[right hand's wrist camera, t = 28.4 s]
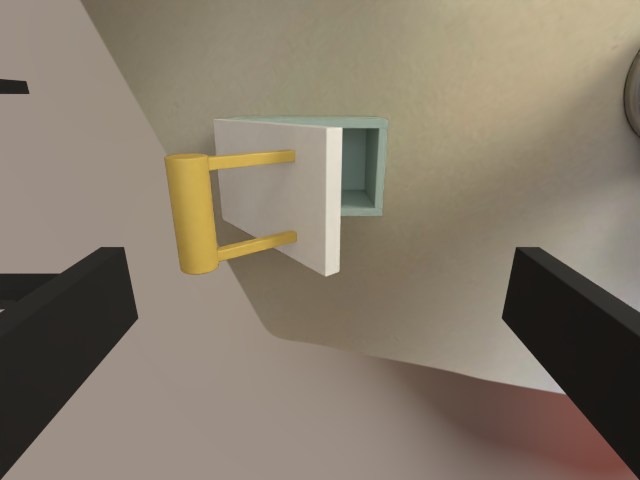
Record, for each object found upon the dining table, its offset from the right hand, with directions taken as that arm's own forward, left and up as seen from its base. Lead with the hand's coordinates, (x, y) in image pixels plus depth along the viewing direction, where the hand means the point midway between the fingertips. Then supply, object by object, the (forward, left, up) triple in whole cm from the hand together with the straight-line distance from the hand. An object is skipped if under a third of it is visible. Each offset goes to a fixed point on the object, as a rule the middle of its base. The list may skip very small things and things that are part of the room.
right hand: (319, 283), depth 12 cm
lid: (+1, -4, -17) cm, 17 cm away
